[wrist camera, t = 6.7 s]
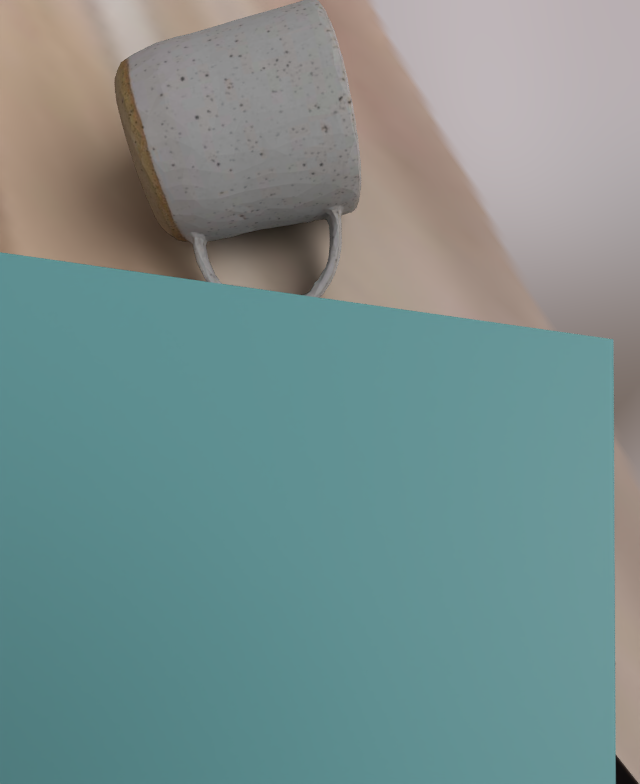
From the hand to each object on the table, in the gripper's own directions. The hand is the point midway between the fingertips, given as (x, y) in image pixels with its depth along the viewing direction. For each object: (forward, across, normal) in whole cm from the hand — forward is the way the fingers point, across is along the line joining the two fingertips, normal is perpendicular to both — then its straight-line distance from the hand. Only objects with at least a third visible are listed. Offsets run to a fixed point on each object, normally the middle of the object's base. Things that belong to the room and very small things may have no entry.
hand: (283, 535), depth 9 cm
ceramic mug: (+20, +4, -1) cm, 20 cm away
